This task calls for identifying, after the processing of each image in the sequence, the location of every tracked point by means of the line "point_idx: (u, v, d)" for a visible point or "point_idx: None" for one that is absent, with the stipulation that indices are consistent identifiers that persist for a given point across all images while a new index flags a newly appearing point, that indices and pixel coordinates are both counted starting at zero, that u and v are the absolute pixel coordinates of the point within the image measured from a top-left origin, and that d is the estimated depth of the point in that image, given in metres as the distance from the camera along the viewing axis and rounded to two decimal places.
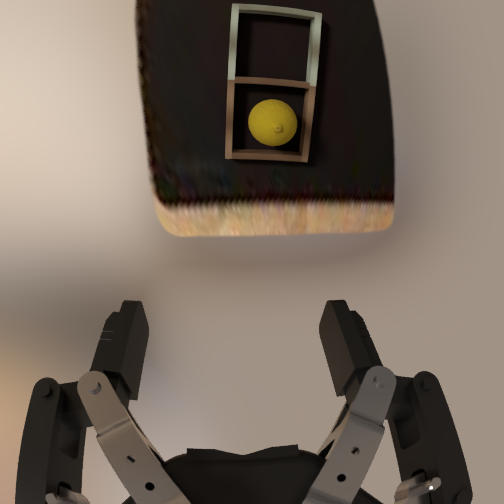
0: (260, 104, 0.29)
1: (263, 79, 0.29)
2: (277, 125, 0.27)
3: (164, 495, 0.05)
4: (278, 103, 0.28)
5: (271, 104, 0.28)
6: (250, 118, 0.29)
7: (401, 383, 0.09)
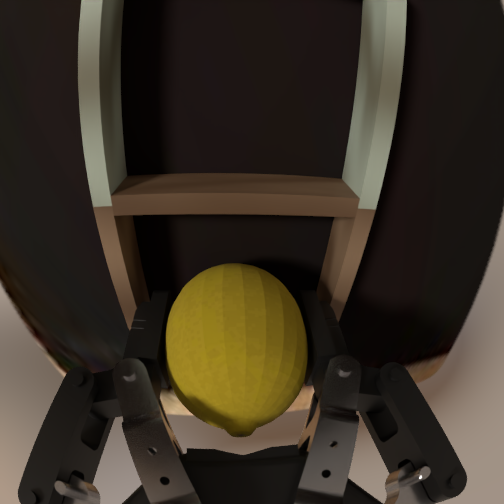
0: (187, 320, 0.09)
1: (202, 197, 0.10)
2: (238, 432, 0.08)
3: (177, 491, 0.05)
4: (246, 333, 0.08)
5: (218, 342, 0.08)
6: (165, 351, 0.10)
7: (369, 373, 0.09)
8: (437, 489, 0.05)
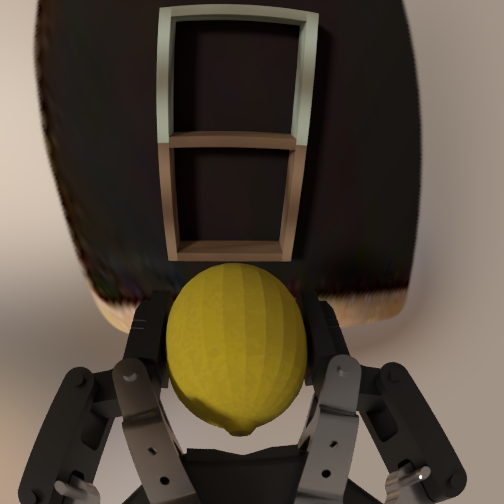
0: (187, 319, 0.09)
1: (216, 138, 0.19)
2: (238, 431, 0.08)
3: (177, 492, 0.05)
4: (246, 332, 0.08)
5: (218, 341, 0.08)
6: (165, 350, 0.10)
7: (369, 373, 0.09)
8: (437, 489, 0.05)
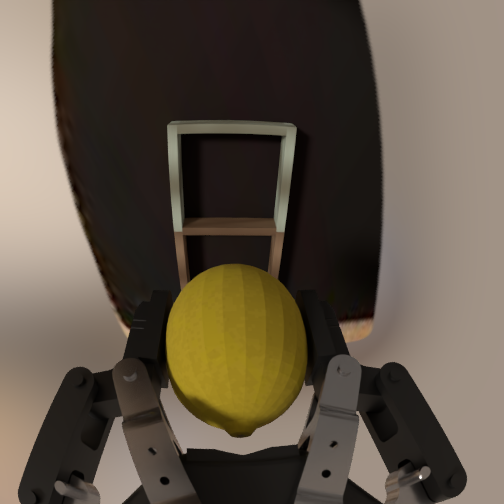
0: (187, 320, 0.09)
1: (217, 229, 0.27)
2: (238, 433, 0.08)
3: (177, 491, 0.05)
4: (246, 334, 0.08)
5: (219, 343, 0.08)
6: (165, 351, 0.10)
7: (369, 373, 0.09)
8: (437, 489, 0.05)
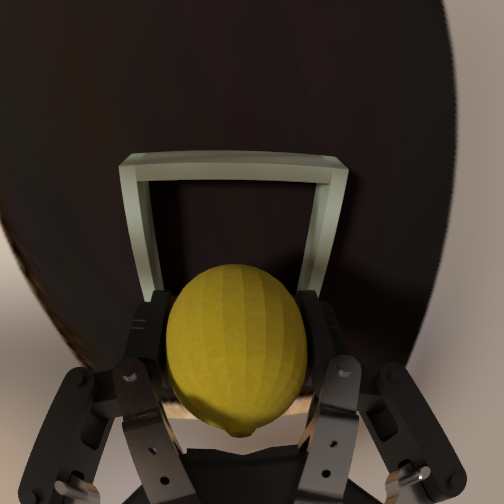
0: (187, 321, 0.09)
1: None
2: (238, 432, 0.08)
3: (177, 491, 0.05)
4: (246, 334, 0.08)
5: (218, 342, 0.08)
6: (165, 351, 0.10)
7: (368, 373, 0.09)
8: (437, 489, 0.05)
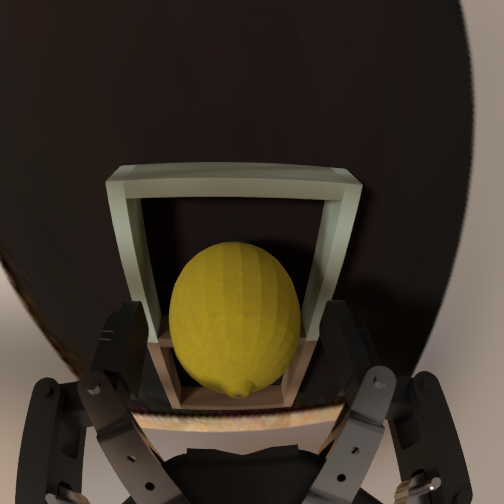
0: (191, 288, 0.10)
1: None
2: (236, 392, 0.09)
3: (164, 495, 0.05)
4: (243, 297, 0.09)
5: (218, 304, 0.09)
6: (169, 320, 0.11)
7: (401, 383, 0.09)
8: (442, 503, 0.04)
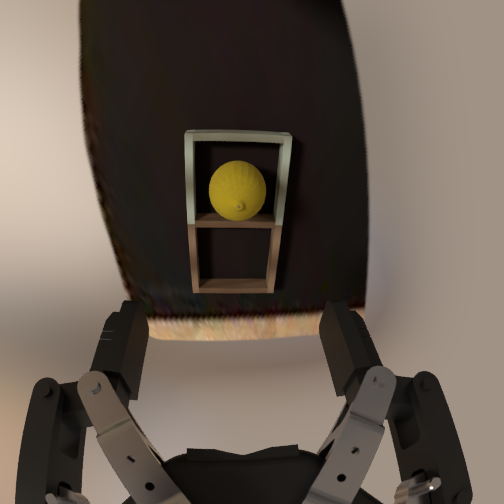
0: (221, 171, 0.26)
1: (224, 222, 0.32)
2: (237, 204, 0.24)
3: (164, 495, 0.05)
4: (241, 170, 0.25)
5: (232, 172, 0.25)
6: (209, 188, 0.26)
7: (401, 383, 0.09)
8: (442, 503, 0.04)
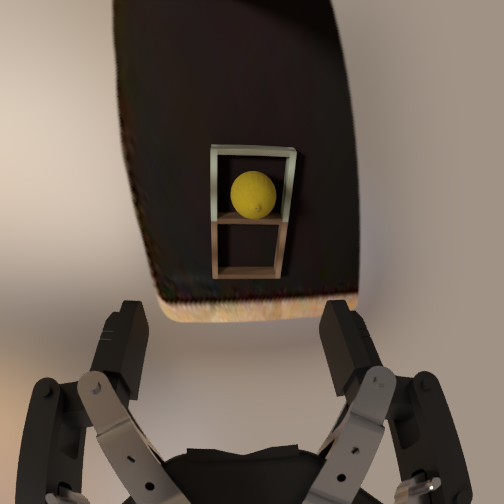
0: (241, 180, 0.33)
1: (241, 220, 0.39)
2: (255, 206, 0.32)
3: (164, 495, 0.05)
4: (257, 180, 0.32)
5: (250, 181, 0.32)
6: (232, 193, 0.34)
7: (401, 383, 0.09)
8: (442, 503, 0.04)
